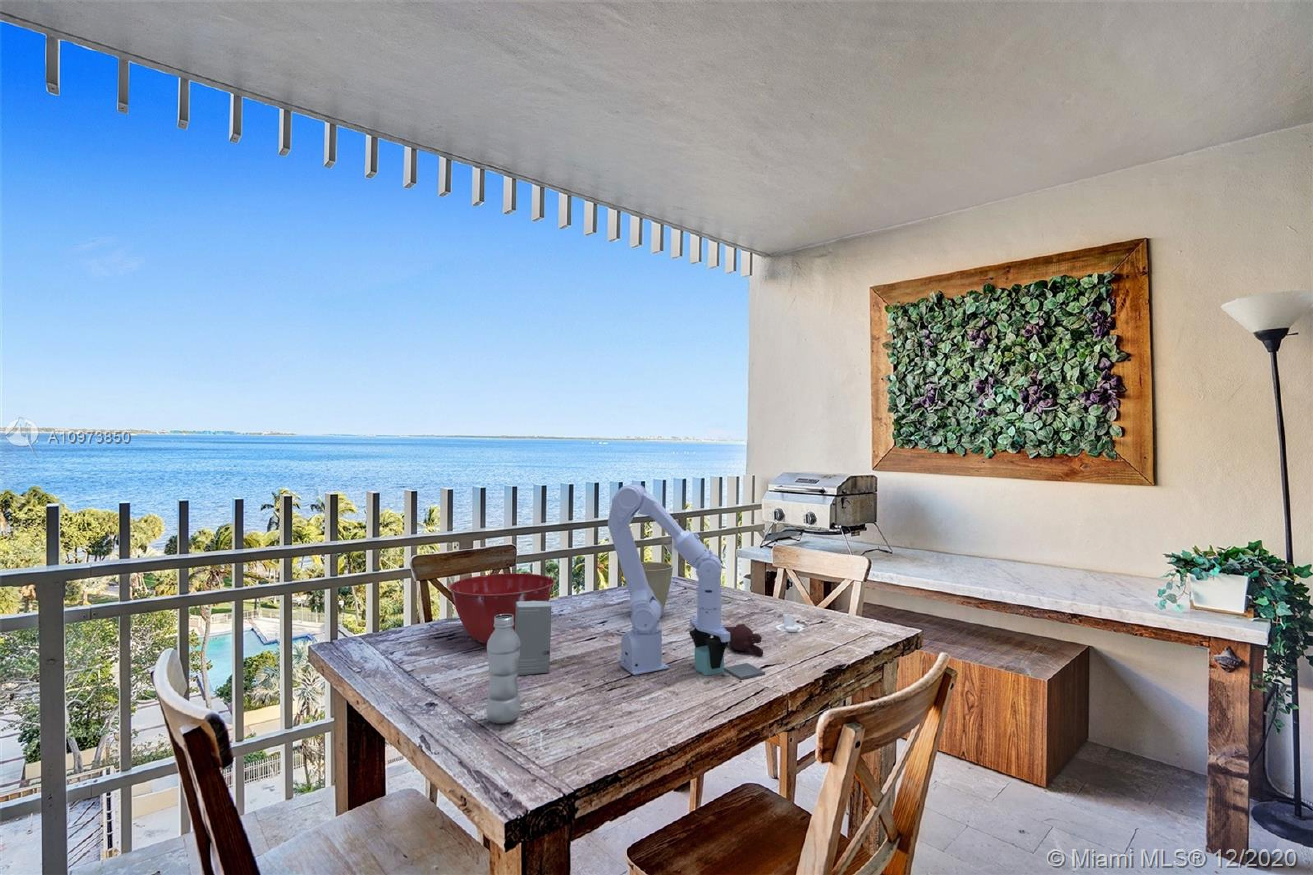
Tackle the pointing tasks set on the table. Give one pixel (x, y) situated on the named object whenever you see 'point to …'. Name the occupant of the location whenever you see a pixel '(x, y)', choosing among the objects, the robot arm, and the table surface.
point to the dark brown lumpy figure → (744, 639)
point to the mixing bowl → (495, 599)
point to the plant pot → (658, 579)
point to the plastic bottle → (503, 671)
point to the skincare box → (533, 636)
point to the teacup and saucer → (789, 624)
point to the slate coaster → (744, 671)
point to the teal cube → (706, 661)
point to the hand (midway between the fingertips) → (709, 664)
